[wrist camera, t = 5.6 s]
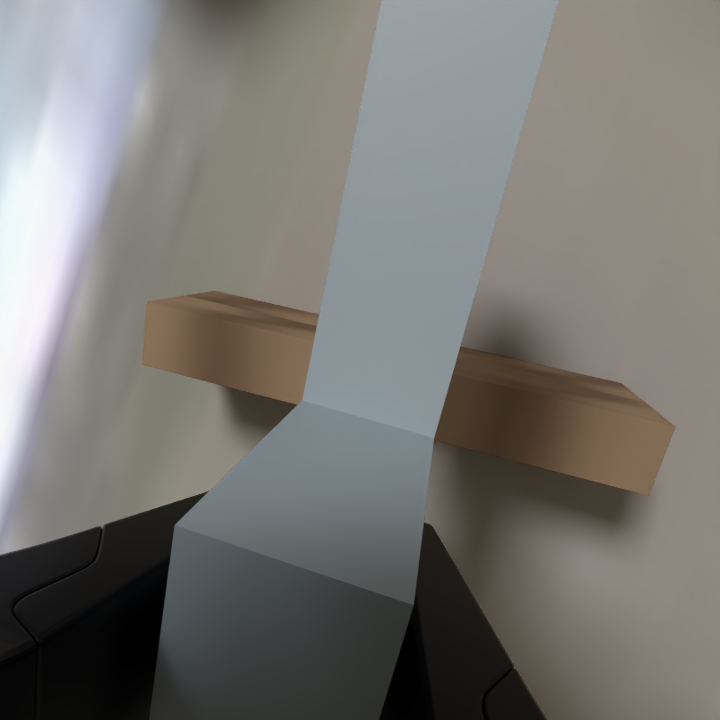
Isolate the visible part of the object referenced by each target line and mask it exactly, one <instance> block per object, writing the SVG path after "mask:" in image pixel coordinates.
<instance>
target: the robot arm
mask: <svg viewBox="0 0 720 720" xmlns="http://www.w3.org/2000/svg"><path fill="white" fill-rule="evenodd" d="M208 492H209V491H208ZM208 492H205V493H202V494H199V495H195V496H192V497H189V498H186V499H183V500H180V501H177V502H174V503H171V504H167V505H164V506H161V507H158V508H155V509H152V510H149V511H145V512H142V513H139V514H136V515H133V516H130V517H127V518H124V519H120V520H117V521H114V522H111V523H108V524H105V525H103V527H102V528H101V527H100V526H98V527H95V528H92V529H89V530H86V531H83V532H80V533H76V534H73V535H70V536H66V537H63V538H60V539H56V540H53V541H50V542H46V543H43V544H40V545H36V546H32V547H28V548H24V549H21V550H17V551H13V552H9V553H5V554H2V555H0V720H149V716H150V709H151V701H152V693H153V686H154V678H155V671H156V663H157V655H158V648H159V640H160V633H161V625H162V618H163V610H164V602H165V595H166V587H167V580H168V572H169V564H170V557H171V549H172V542H173V534H174V527H175V524H176V523H177V522H178V521H179V520H180V519H181V518H182V517H183V516H184V515H185V514H186V513H187V512H188V511H190V510H191V509H192V508H193V507H194V506H195V505H196V504H197V503H198V502H199V501H200V500H201V499H202V498H203V497H204V496H205V495H206V494H207V493H208ZM379 720H547V719H546V717H545V716H544V714H543V712H542V711H541V709H540V708H539V706H538V704H537V703H536V701H535V699H534V698H533V696H532V695H531V693H530V691H529V690H528V688H527V686H526V685H525V683H524V681H523V679H522V678H521V676H520V674H519V673H518V671H517V670H516V669H514V665H513V663H512V661H511V659H510V658H509V656H508V654H507V653H506V651H505V649H504V647H503V646H502V644H501V642H500V641H499V639H498V637H497V636H496V634H495V632H494V630H493V629H492V627H491V625H490V624H489V622H488V620H487V618H486V617H485V615H484V613H483V612H482V610H481V608H480V607H479V605H478V603H477V601H476V600H475V598H474V596H473V595H472V593H471V591H470V589H469V588H468V586H467V584H466V583H465V581H464V579H463V578H462V576H461V574H460V572H459V571H458V569H457V567H456V566H455V564H454V562H453V561H452V559H451V557H450V555H449V554H448V552H447V550H446V549H445V547H444V545H443V543H442V542H441V540H440V538H439V537H438V535H437V533H436V532H435V530H434V528H433V527H432V526H431V525H430V524H427V523H424V525H423V533H422V541H421V550H420V558H419V566H418V574H417V582H416V591H415V599H414V606H413V609H412V612H411V616H410V619H409V622H408V626H407V629H406V632H405V635H404V639H403V642H402V645H401V649H400V652H399V655H398V659H397V662H396V665H395V668H394V672H393V675H392V678H391V682H390V685H389V688H388V692H387V695H386V698H385V701H384V705H383V708H382V711H381V715H380V718H379Z"/></svg>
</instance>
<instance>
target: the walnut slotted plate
mask: <svg viewBox="0 0 720 720" xmlns="http://www.w3.org/2000/svg"><path fill="white" fill-rule="evenodd" d="M318 318H319V315H318V314H314V313H310V312H305V311H301V310H296V309H292V308H288V307H283V306H279V305H274V304H270V303H266V302H261V301H257V300H252V299H248V298H244V297H239V296H235V295H230V294H226V293H222V292H217V291H211V292H205V293H199V294H192V295H186V296H180V297H174V298H167V299H161V300H155V301H149V302H147V309H146V322H145V335H144V348H143V361H142V365H145V366H149V367H153V368H157V369H161V370H164V371H168V372H172V373H176V374H180V375H184V376H188V377H192V378H195V379H199V380H203V381H207V382H211V383H215V384H219V385H222V386H226V387H230V388H234V389H238V390H242V391H246V392H250V393H253V394H257V395H261V396H265V397H269V398H273V399H277V400H281V401H284V402H288V403H292V404H296V405H298V404H299V403H300V402H301V401H302V399H303V394H304V389H305V384H306V378H307V373H308V368H309V363H310V358H311V353H312V348H313V343H314V338H315V333H316V328H317V323H318ZM674 430H675V426H674V425H673V424H672V423H670V422H669V421H668V420H667V419H665V418H664V417H663V416H662V415H660V414H659V413H658V412H657V411H655V410H654V409H653V408H652V407H650V406H649V405H648V404H647V403H645V402H644V401H643V400H642V399H640V398H639V397H638V396H637V395H635V394H634V393H633V392H632V391H630V390H629V389H628V388H627V387H625V386H624V385H623V384H622V383H617V382H613V381H608V380H604V379H600V378H595V377H591V376H587V375H582V374H578V373H573V372H569V371H565V370H560V369H556V368H551V367H547V366H543V365H538V364H534V363H529V362H525V361H521V360H516V359H512V358H507V357H503V356H499V355H494V354H490V353H485V352H481V351H477V350H472V349H468V348H463V347H460V349H459V353H458V356H457V360H456V363H455V367H454V370H453V374H452V377H451V381H450V384H449V388H448V391H447V395H446V398H445V402H444V405H443V409H442V412H441V416H440V419H439V423H438V426H437V430H436V433H435V437H434V440H436V441H439V442H443V443H447V444H451V445H455V446H459V447H463V448H466V449H470V450H474V451H478V452H482V453H486V454H490V455H494V456H497V457H501V458H505V459H509V460H513V461H517V462H521V463H525V464H528V465H532V466H536V467H540V468H544V469H548V470H552V471H556V472H559V473H563V474H567V475H571V476H575V477H579V478H583V479H587V480H590V481H594V482H598V483H602V484H606V485H610V486H614V487H618V488H621V489H625V490H629V491H633V492H637V493H641V494H645V495H649V494H650V491H651V488H652V486H653V483H654V481H655V478H656V476H657V473H658V471H659V468H660V465H661V463H662V460H663V458H664V455H665V453H666V450H667V447H668V445H669V442H670V440H671V437H672V435H673V432H674Z"/></svg>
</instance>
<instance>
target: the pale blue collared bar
mask: <svg viewBox="0 0 720 720" xmlns="http://www.w3.org/2000/svg"><path fill="white" fill-rule="evenodd" d="M558 1H559V0H382V1H381V6H380V11H379V16H378V21H377V26H376V31H375V36H374V41H373V46H372V51H371V56H370V61H369V67H368V72H367V77H366V82H365V87H364V92H363V97H362V102H361V107H360V112H359V117H358V122H357V127H356V132H355V137H354V142H353V147H352V152H351V157H350V162H349V167H348V172H347V177H346V182H345V187H344V192H343V197H342V202H341V207H340V212H339V217H338V223H337V228H336V233H335V238H334V243H333V248H332V253H331V258H330V263H329V268H328V273H327V278H326V283H325V288H324V293H323V298H322V303H321V308H320V313H319V318H318V323H317V328H316V333H315V338H314V343H313V348H312V353H311V358H310V363H309V368H308V373H307V378H306V384H305V389H304V394H303V399H302V401H301V402H300V403H299V404H298V405H297V406H296V407H295V408H294V409H293V410H292V411H291V412H290V413H289V414H288V415H287V416H286V417H285V418H284V419H283V420H282V421H281V422H280V423H278V424H277V425H276V426H275V427H274V428H273V429H272V430H271V431H270V432H269V433H268V434H267V435H266V436H265V437H264V438H263V439H262V440H261V441H260V442H259V443H258V444H257V445H256V446H255V447H254V448H253V449H252V450H251V451H250V452H249V453H248V454H247V455H246V456H245V457H244V458H243V459H242V460H241V461H240V462H239V463H238V464H237V465H236V466H235V467H233V468H232V469H231V470H230V471H229V472H228V473H227V474H226V475H225V476H224V477H223V478H222V479H221V480H220V481H219V482H218V483H217V484H216V485H215V486H214V487H213V488H212V489H211V490H210V491H209V492H208V493H207V494H206V495H205V496H204V497H203V498H202V499H201V500H200V501H199V502H198V503H197V504H196V505H195V506H194V507H193V508H192V509H191V510H190V511H188V512H187V513H186V514H185V515H184V516H183V517H182V518H181V519H180V520H179V521H178V522H177V523H176V524H175V527H174V534H173V542H172V549H171V557H170V564H169V572H168V580H167V587H166V595H165V602H164V610H163V618H162V625H161V633H160V640H159V648H158V655H157V663H156V671H155V678H154V686H153V693H152V701H151V709H150V716H149V720H379V718H380V715H381V711H382V708H383V705H384V701H385V698H386V695H387V692H388V688H389V685H390V682H391V678H392V675H393V672H394V668H395V665H396V662H397V659H398V655H399V652H400V649H401V645H402V642H403V639H404V635H405V632H406V629H407V626H408V622H409V619H410V616H411V612H412V609H413V606H414V599H415V591H416V582H417V574H418V566H419V558H420V550H421V541H422V533H423V525H424V517H425V509H426V501H427V492H428V484H429V476H430V468H431V460H432V452H433V443H434V437H435V433H436V430H437V426H438V423H439V419H440V416H441V412H442V409H443V405H444V402H445V398H446V395H447V391H448V388H449V384H450V381H451V377H452V374H453V370H454V367H455V363H456V360H457V356H458V353H459V349H460V346H461V342H462V338H463V335H464V331H465V328H466V324H467V321H468V317H469V314H470V310H471V307H472V303H473V300H474V296H475V293H476V289H477V286H478V282H479V279H480V275H481V272H482V268H483V265H484V261H485V258H486V254H487V251H488V247H489V244H490V240H491V237H492V233H493V230H494V226H495V223H496V219H497V216H498V212H499V209H500V205H501V202H502V198H503V195H504V191H505V187H506V184H507V180H508V177H509V173H510V170H511V166H512V163H513V159H514V156H515V152H516V149H517V145H518V142H519V138H520V135H521V131H522V128H523V124H524V121H525V117H526V114H527V110H528V107H529V103H530V100H531V96H532V93H533V89H534V86H535V82H536V79H537V75H538V72H539V68H540V65H541V61H542V58H543V54H544V51H545V47H546V44H547V40H548V36H549V33H550V29H551V26H552V22H553V19H554V15H555V12H556V8H557V5H558Z"/></svg>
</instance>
